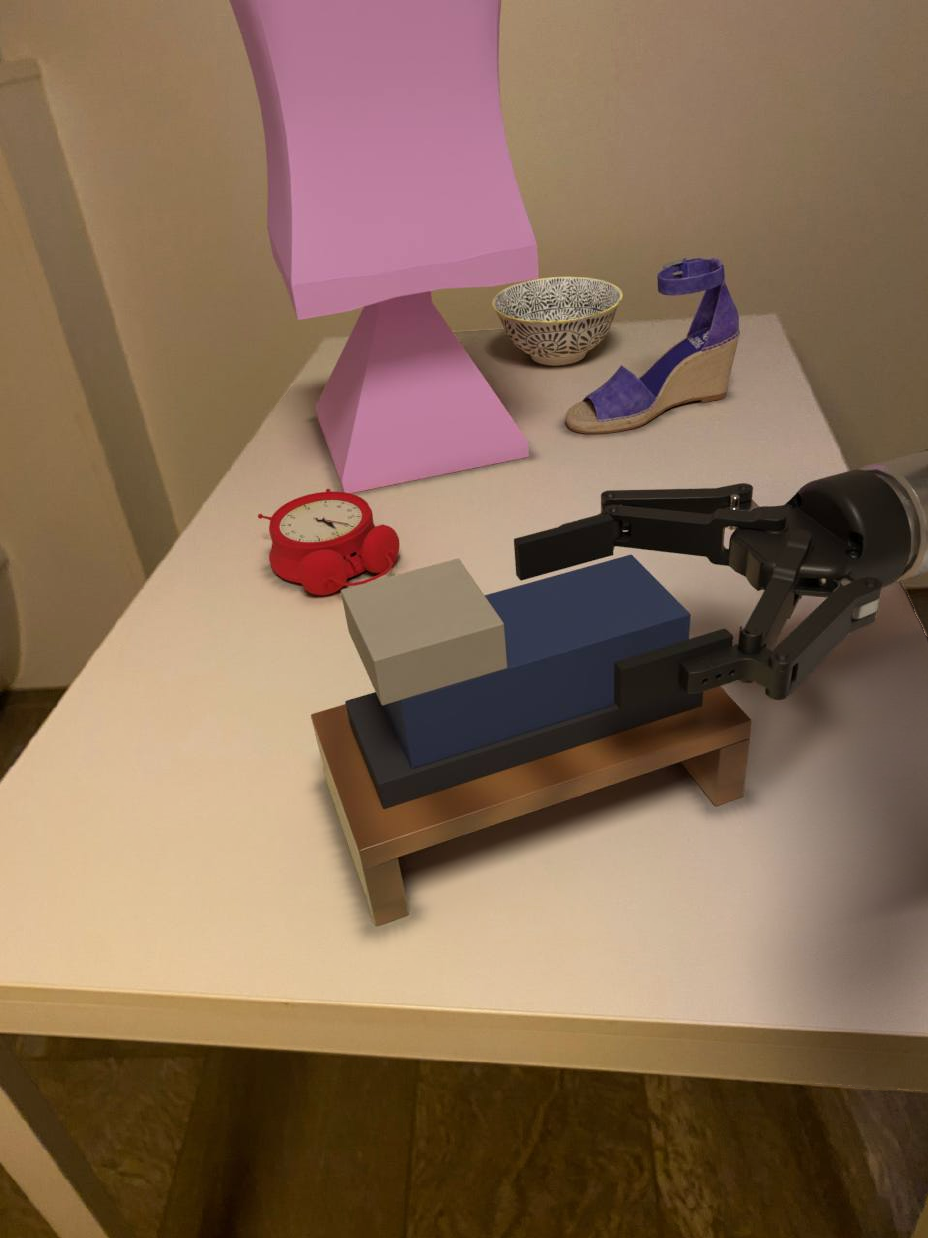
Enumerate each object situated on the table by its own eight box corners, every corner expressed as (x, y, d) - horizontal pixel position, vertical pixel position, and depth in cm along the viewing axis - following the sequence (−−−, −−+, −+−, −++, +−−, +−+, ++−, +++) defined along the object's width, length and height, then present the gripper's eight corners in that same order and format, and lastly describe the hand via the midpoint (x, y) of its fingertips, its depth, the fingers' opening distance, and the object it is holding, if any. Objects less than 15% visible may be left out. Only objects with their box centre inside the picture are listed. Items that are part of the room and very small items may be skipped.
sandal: (555, 409, 109) (550, 275, 100) (721, 382, 111) (732, 248, 102) (574, 439, 102) (571, 298, 94) (751, 410, 104) (765, 269, 95)
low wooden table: (649, 685, 69) (652, 612, 66) (743, 797, 60) (752, 719, 56) (328, 786, 64) (310, 713, 60) (375, 927, 55) (358, 851, 51)
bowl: (628, 375, 115) (629, 313, 110) (496, 385, 116) (491, 323, 112) (615, 329, 128) (615, 271, 123) (496, 338, 129) (492, 281, 124)
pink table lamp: (486, 382, 117) (451, -72, 90) (546, 459, 99) (524, -77, 73) (305, 416, 113) (212, -45, 87) (333, 503, 96) (228, -44, 69)
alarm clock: (338, 476, 92) (413, 501, 80) (355, 536, 95) (430, 569, 83) (238, 513, 88) (301, 545, 76) (259, 575, 91) (323, 616, 78)
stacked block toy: (641, 637, 63) (645, 504, 58) (702, 706, 58) (713, 566, 52) (349, 725, 59) (321, 591, 53) (383, 809, 53) (355, 670, 47)
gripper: (1016, 690, 52) (670, 811, 47) (753, 494, 72) (489, 566, 67) (1054, 575, 48) (676, 696, 43) (763, 399, 67) (480, 469, 62)
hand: (561, 617), depth 55 cm, fingers open, 13 cm apart
